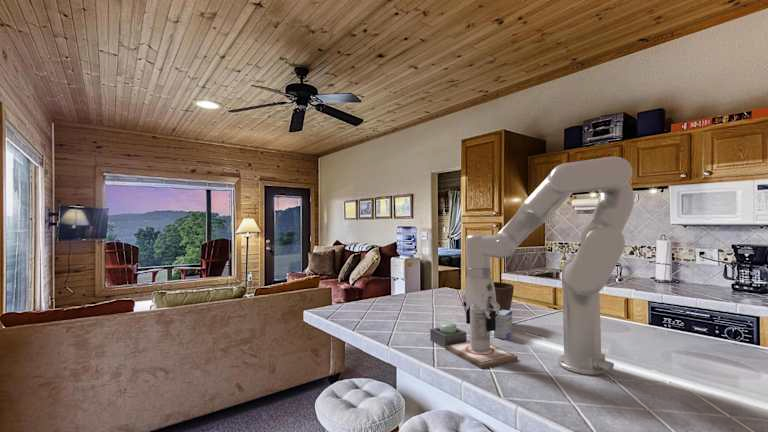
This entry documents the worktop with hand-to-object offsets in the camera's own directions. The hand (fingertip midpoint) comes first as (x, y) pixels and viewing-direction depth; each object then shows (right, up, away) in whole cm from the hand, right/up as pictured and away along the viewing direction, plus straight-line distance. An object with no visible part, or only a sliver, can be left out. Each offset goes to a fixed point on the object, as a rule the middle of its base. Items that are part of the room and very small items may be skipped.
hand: (480, 326), depth 117 cm
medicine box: (+13, -9, +18) cm, 24 cm away
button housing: (-8, -9, +12) cm, 17 cm away
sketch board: (0, -9, 0) cm, 9 cm away
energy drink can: (0, -8, 0) cm, 7 cm away
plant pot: (+15, -9, +34) cm, 38 cm away
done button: (-8, -6, +12) cm, 16 cm away
